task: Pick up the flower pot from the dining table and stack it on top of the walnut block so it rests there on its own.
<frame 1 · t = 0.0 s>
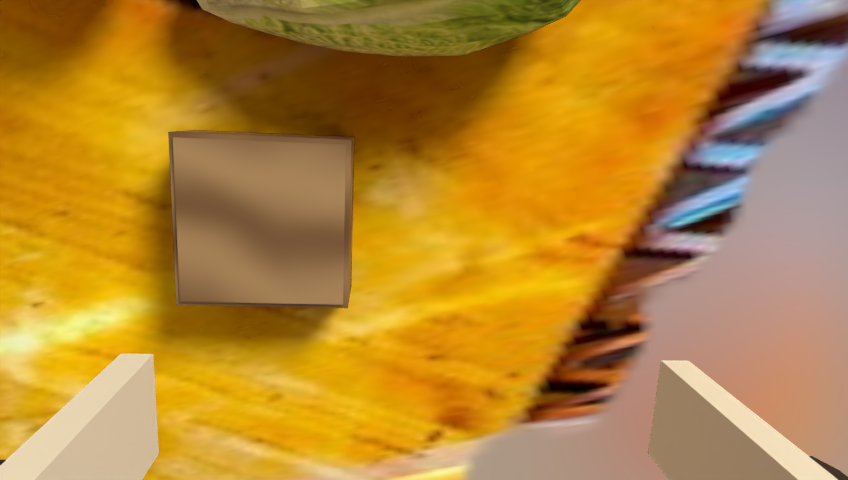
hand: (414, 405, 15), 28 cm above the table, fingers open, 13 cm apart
walnut block: (275, 211, 41), on the table
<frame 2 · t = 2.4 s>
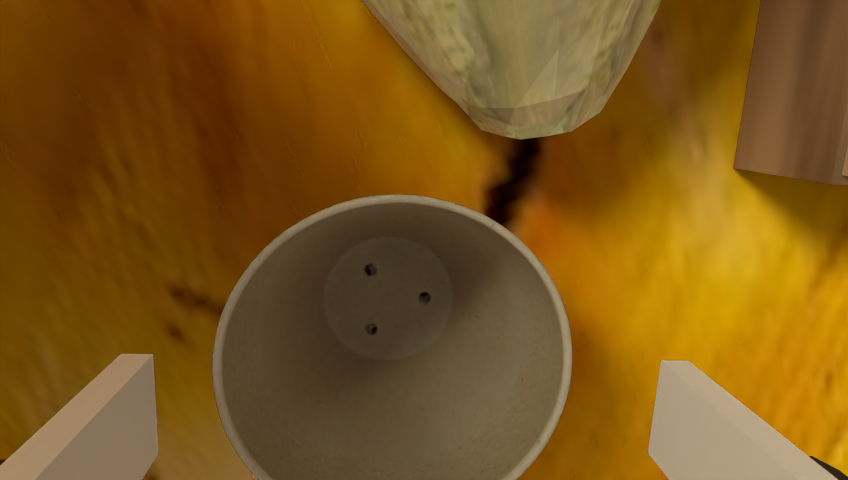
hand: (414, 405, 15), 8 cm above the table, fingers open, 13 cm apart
flower pot: (389, 292, 23), on the table
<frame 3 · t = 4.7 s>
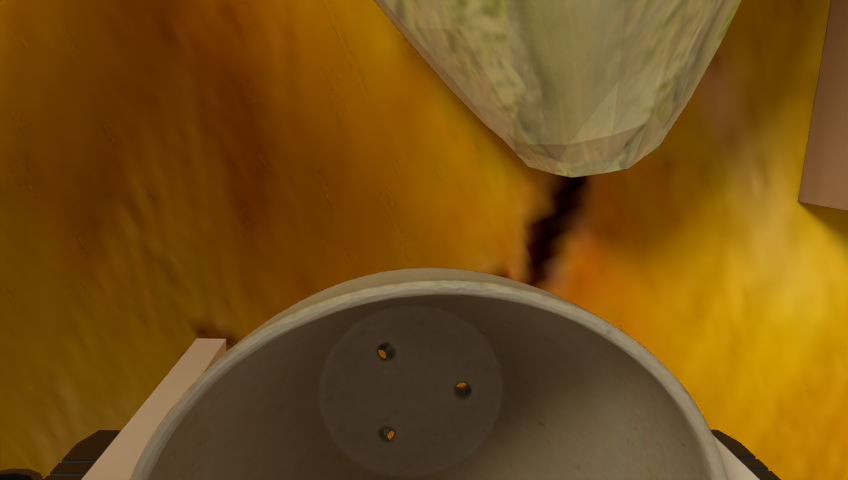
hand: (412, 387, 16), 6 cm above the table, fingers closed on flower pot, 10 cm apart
flower pot: (411, 379, 16), point 5 cm above the table, touching gripper
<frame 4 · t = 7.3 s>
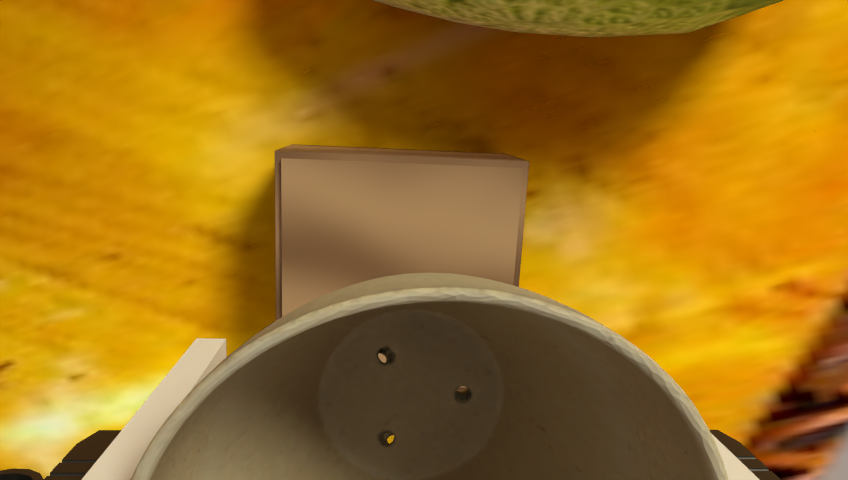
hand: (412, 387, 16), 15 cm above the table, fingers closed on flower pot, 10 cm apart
flower pot: (411, 383, 16), point 15 cm above the table, touching gripper
walnut block: (396, 252, 31), on the table
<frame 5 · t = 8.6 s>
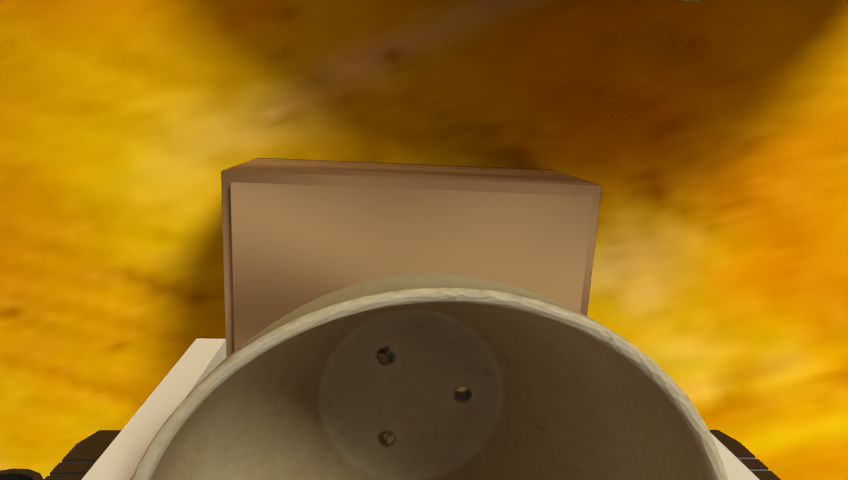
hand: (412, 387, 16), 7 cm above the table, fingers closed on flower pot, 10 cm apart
flower pot: (411, 383, 16), point 7 cm above the table, touching gripper
walnut block: (402, 304, 23), on the table
when the fingers open (6 cm above the table, at t = 9.8 s): flower pot stays where it is, resting on walnut block.
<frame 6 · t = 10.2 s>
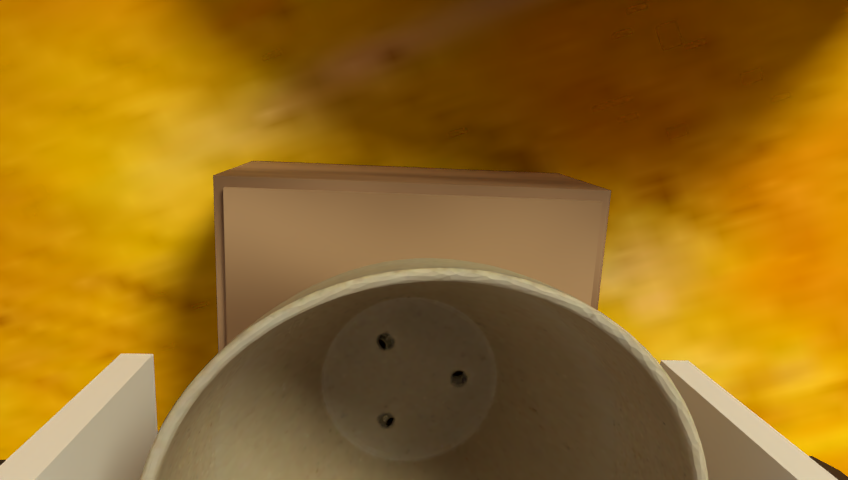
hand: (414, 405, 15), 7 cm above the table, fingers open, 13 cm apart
flower pot: (410, 368, 17), point 5 cm above the table, touching walnut block
walnut block: (402, 312, 22), on the table
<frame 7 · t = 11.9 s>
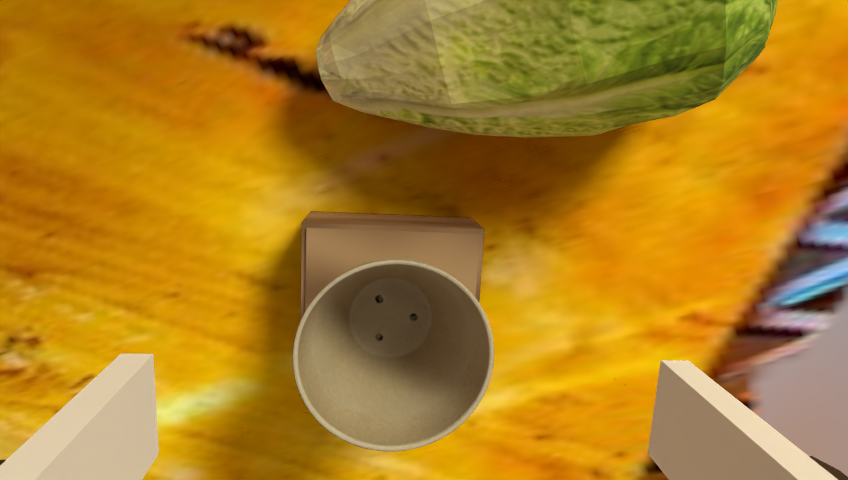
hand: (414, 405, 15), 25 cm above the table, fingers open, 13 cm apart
lettuce: (505, 26, 38), on the table
flower pot: (390, 313, 36), point 5 cm above the table, touching walnut block
walnut block: (388, 291, 41), on the table
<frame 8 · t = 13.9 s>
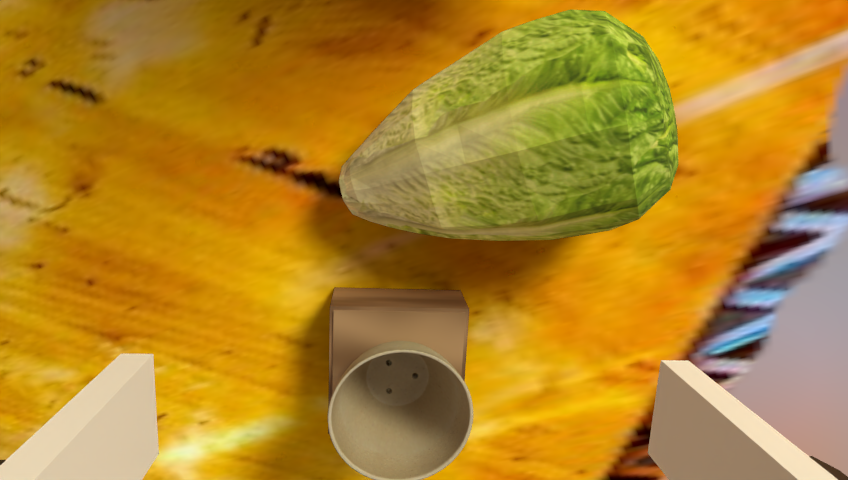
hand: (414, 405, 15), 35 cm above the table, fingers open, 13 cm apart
lettuce: (485, 143, 49), on the table
flower pot: (397, 372, 47), point 5 cm above the table, touching walnut block
walnut block: (395, 347, 51), on the table
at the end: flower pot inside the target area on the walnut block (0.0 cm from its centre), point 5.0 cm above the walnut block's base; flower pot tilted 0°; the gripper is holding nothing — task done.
